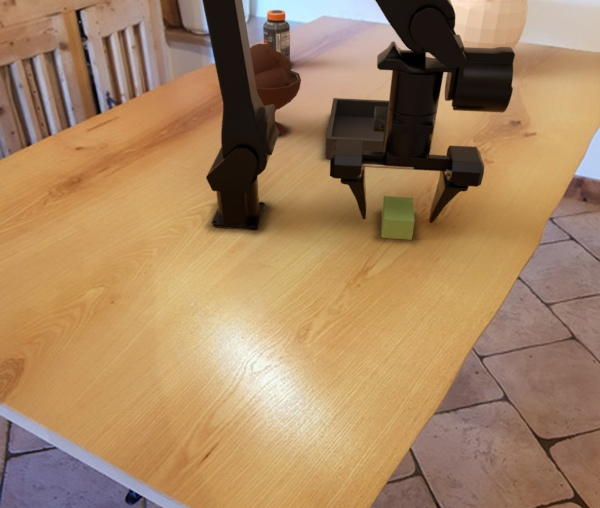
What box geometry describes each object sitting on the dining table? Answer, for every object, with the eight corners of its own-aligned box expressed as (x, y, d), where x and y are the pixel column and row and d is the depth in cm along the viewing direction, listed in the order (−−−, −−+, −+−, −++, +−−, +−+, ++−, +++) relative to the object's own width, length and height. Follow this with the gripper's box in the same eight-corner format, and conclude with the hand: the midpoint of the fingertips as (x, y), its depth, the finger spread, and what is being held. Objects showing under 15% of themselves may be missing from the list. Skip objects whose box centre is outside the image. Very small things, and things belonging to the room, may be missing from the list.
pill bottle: (260, 63, 128) (258, 9, 120) (283, 59, 130) (283, 6, 122) (270, 70, 124) (268, 16, 116) (294, 67, 125) (294, 13, 118)
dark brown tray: (414, 163, 90) (417, 143, 87) (325, 158, 91) (326, 138, 89) (409, 120, 103) (412, 101, 101) (332, 116, 104) (333, 97, 102)
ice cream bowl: (294, 146, 94) (294, 55, 85) (232, 140, 96) (225, 50, 86) (306, 121, 102) (307, 35, 92) (248, 116, 104) (244, 31, 94)
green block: (411, 239, 73) (414, 220, 71) (381, 238, 73) (383, 218, 71) (409, 216, 78) (412, 197, 76) (381, 214, 78) (383, 195, 76)
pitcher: (427, 73, 123) (447, -59, 106) (436, 49, 136) (455, -72, 120) (513, 82, 119) (548, -54, 102) (514, 56, 132) (545, -67, 116)
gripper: (483, 86, 70) (460, 194, 80) (338, 79, 71) (332, 186, 82) (497, 121, 62) (469, 236, 72) (332, 113, 63) (327, 227, 73)
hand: (397, 219), depth 75 cm, fingers open, 9 cm apart
